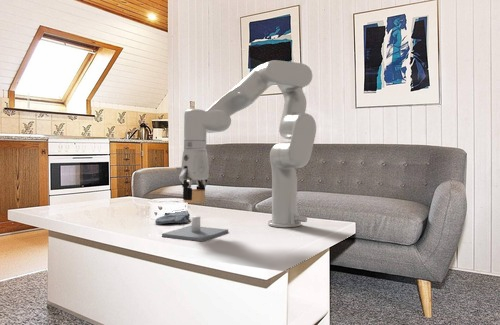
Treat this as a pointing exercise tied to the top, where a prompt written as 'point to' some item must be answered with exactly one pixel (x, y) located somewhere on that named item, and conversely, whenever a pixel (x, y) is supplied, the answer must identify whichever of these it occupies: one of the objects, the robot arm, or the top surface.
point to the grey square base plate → (195, 231)
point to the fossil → (174, 218)
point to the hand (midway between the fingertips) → (194, 198)
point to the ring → (197, 196)
